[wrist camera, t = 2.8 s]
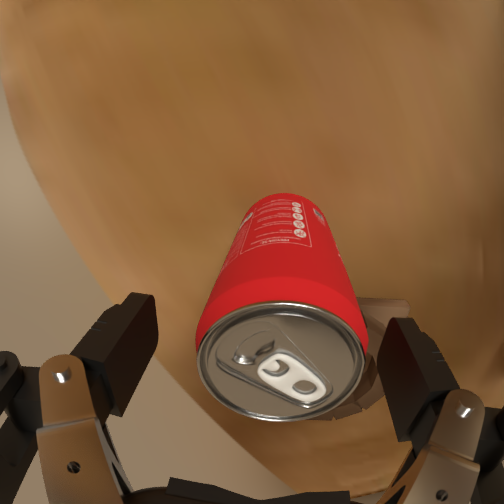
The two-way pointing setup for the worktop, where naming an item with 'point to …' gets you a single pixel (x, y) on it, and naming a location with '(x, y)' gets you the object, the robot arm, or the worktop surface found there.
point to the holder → (369, 356)
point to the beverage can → (282, 318)
